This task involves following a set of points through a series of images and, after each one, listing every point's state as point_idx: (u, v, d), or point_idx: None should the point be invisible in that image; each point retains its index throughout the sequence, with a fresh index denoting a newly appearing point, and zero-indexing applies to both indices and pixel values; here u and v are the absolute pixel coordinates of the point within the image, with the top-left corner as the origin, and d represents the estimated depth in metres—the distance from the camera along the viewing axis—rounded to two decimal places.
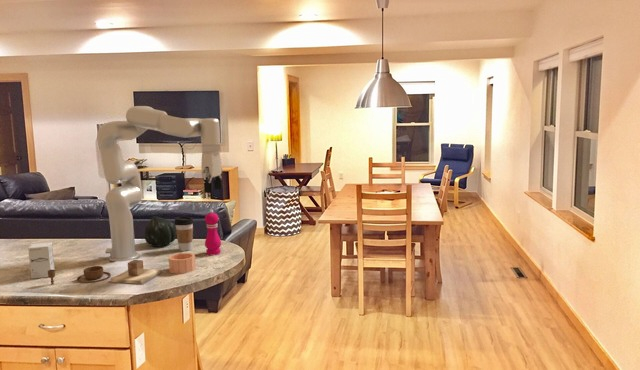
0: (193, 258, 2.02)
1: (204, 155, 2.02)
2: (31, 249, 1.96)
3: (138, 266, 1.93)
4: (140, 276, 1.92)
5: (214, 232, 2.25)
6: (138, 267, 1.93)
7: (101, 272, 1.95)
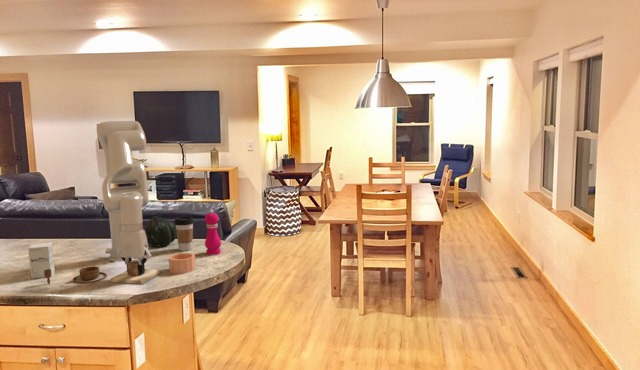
0: (193, 258, 2.02)
1: (142, 234, 1.91)
2: (31, 249, 1.96)
3: None
4: (140, 276, 1.92)
5: (214, 232, 2.25)
6: None
7: (96, 273, 1.94)
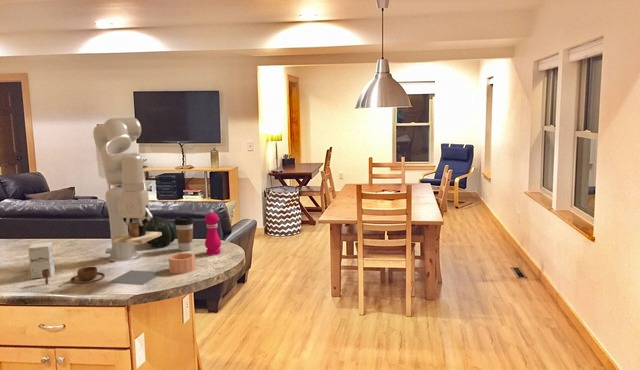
0: (193, 258, 2.02)
1: (143, 194, 1.89)
2: (31, 249, 1.96)
3: None
4: (141, 237, 1.91)
5: (214, 232, 2.25)
6: None
7: (94, 273, 1.94)
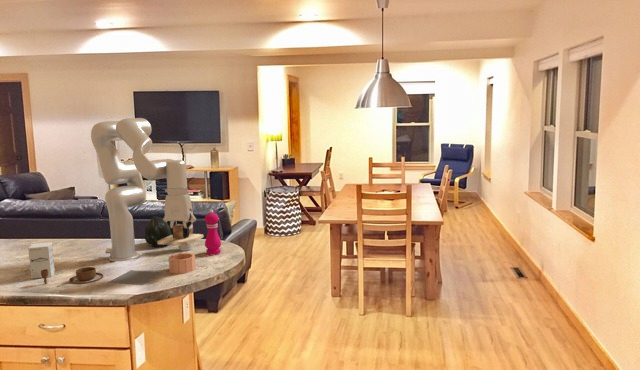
0: (193, 258, 2.02)
1: (187, 197, 1.97)
2: (31, 249, 1.96)
3: None
4: (185, 239, 1.99)
5: (214, 232, 2.25)
6: None
7: (93, 273, 1.93)
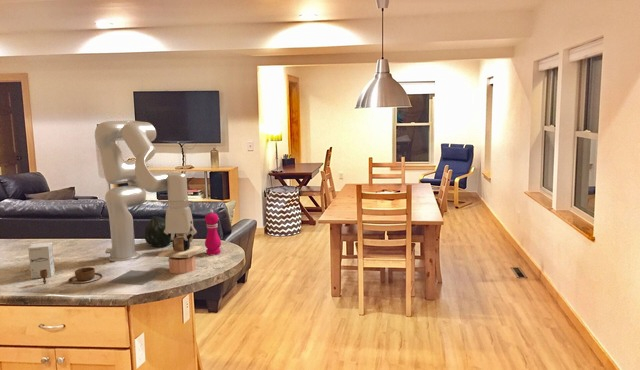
0: (193, 258, 2.02)
1: (188, 210, 1.98)
2: (31, 249, 1.96)
3: None
4: (186, 251, 2.00)
5: (214, 232, 2.25)
6: None
7: (92, 274, 1.93)
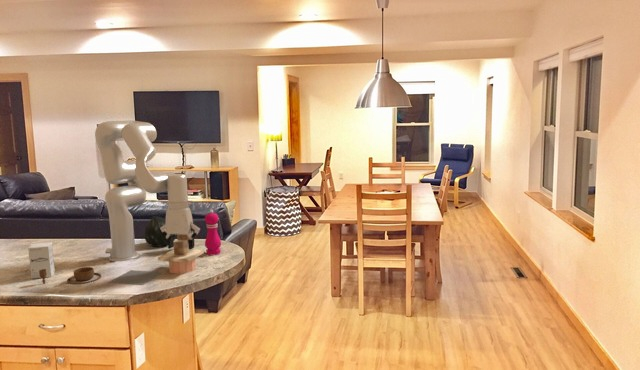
0: None
1: (188, 211, 1.98)
2: (31, 249, 1.96)
3: (184, 245, 2.01)
4: (186, 255, 2.00)
5: (214, 232, 2.25)
6: (184, 246, 2.01)
7: (90, 274, 1.93)
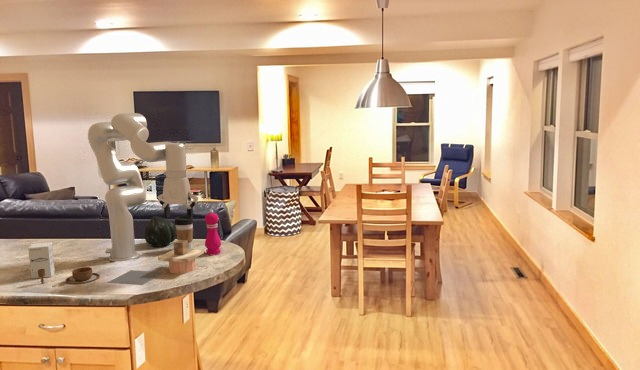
0: None
1: (186, 180, 1.97)
2: (31, 249, 1.96)
3: (184, 245, 2.01)
4: (186, 255, 2.00)
5: (214, 232, 2.25)
6: (184, 246, 2.01)
7: (89, 274, 1.93)
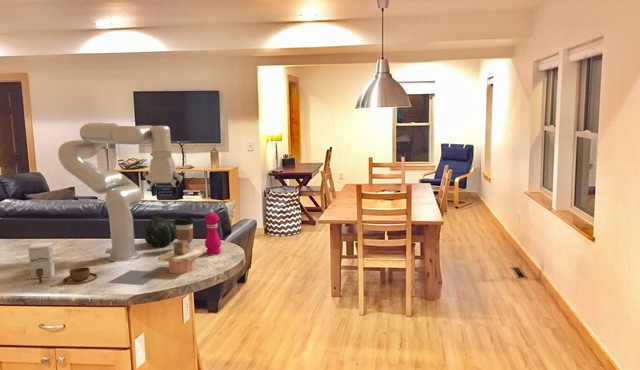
0: None
1: (171, 160, 2.10)
2: (31, 249, 1.96)
3: (184, 245, 2.01)
4: (186, 255, 2.00)
5: (214, 232, 2.25)
6: (184, 246, 2.01)
7: (86, 274, 1.93)
